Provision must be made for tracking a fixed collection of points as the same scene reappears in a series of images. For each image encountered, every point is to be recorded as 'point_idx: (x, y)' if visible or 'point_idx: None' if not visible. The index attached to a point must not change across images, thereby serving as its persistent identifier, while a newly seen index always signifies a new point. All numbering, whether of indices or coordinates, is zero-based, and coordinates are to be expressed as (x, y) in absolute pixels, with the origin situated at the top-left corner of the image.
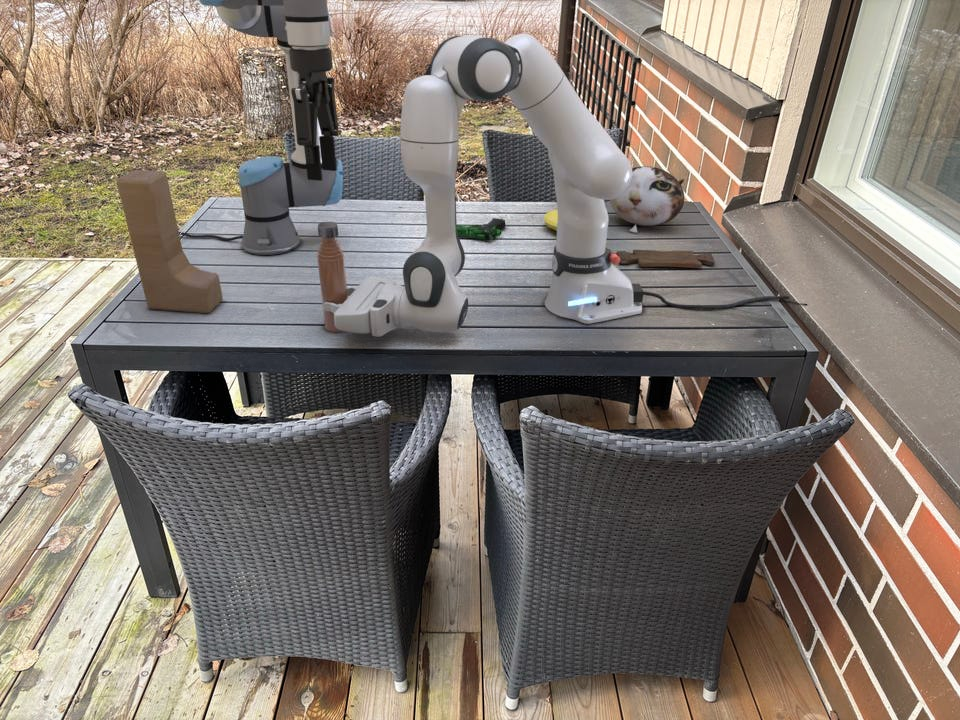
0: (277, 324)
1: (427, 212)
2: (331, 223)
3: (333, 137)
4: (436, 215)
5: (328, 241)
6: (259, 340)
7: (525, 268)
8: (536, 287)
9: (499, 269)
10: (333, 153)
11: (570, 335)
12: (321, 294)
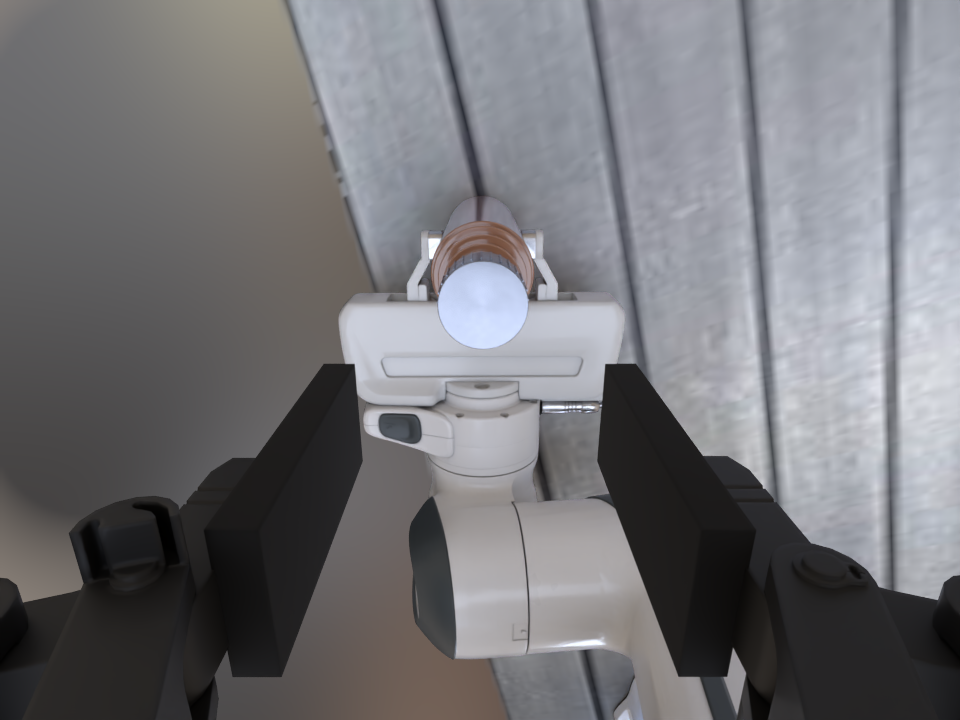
0: (447, 46)
1: (659, 665)
2: (505, 316)
3: (716, 671)
4: (645, 689)
5: None
6: (342, 41)
7: (900, 578)
8: None
9: (891, 525)
10: (631, 546)
11: (562, 693)
12: (458, 212)
